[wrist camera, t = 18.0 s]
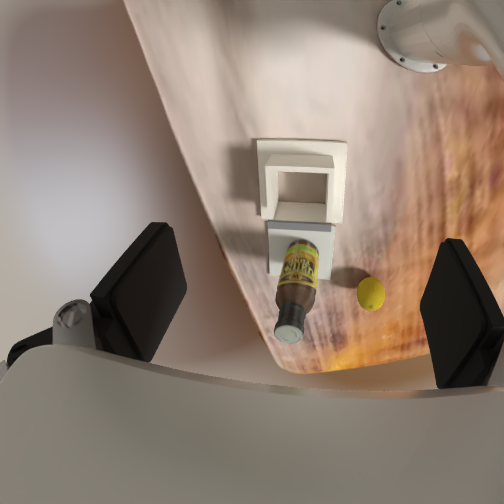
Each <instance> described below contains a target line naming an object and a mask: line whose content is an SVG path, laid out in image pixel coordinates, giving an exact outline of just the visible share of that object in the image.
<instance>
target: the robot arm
mask: <svg viewBox="0 0 504 504" xmlns="http://www.w3.org/2000/svg"><path fill="white" fill-rule="evenodd" d="M397 3H399V5H397ZM381 27H383V28H384V30H382V29H381ZM377 32H378V37H379V39H380V42H381V44H382V46H383V47H384V49H385V51H386V52H387V53H388V54H389V56H390V57H391V58H392V59H393V60H394V61H396V62H397V63H398V64H400V65H401V66H403V67H404V68H407V69H409V70H411V71H415V72H419V73H432V72H437V71H439V70H441V69H443V68H444V67H445V66H447V65H448V64H454V65H468V66H483V65H487V64H489V63H492V62H493V63H494V65H495V67H496V69H497V71H498V72H499V73H500V75H501V77H502V79H503V80H504V0H392V1H391V2H389V3H388V4H386V5H385V6H384V7H383V9H382V10H381V12H380V14H379V16H378V20H377ZM400 58H401V59H402V61H400ZM433 65H434V66H435V68H433ZM186 291H187V283H186V280H185V276H184V272H183V268H182V264H181V260H180V256H179V252H178V248H177V244H176V240H175V235H174V231H173V228H172V227H169V225H168V224H167V223H166V222H165V223H164V222H151V223H150V224H149V225H148V226H147V227H146V228H145V230H144V231H143V232H142V233H141V234H140V235H139V236H138V237H137V239H136V240H135V241H134V242H133V243H132V244H131V245H130V246H129V248H128V249H127V250H126V251H125V252H124V253H123V255H122V256H121V257H120V258H119V259H118V260H117V262H116V263H115V264H114V265H113V266H112V268H111V269H110V270H109V271H108V273H107V274H106V275H105V276H104V277H103V279H102V280H101V281H100V282H99V284H98V285H97V286H96V288H95V289H94V290H93V291H92V293H91V294H90V297H91V299H92V301H91V303H90V304H89V303H88V302H87V301H85V300H82V299H79V300H73V301H70V302H68V303H66V304H64V305H63V306H62V307H61V308H60V309H59V310H58V311H57V312H56V314H55V316H54V319H53V327H51V328H48V329H46V330H44V331H41V332H39V333H37V334H34V335H33V336H30V337H28V338H25V339H23V340H21V341H19V342H17V343H16V344H14V346H13V347H12V348H11V350H10V352H9V354H8V358H7V362H6V361H5V360H3V361H2V362H1V363H0V504H504V317H503V314H502V312H501V310H500V308H499V306H498V304H497V302H496V300H495V297H494V295H493V293H492V291H491V289H490V288H489V286H488V284H487V282H486V280H485V278H484V276H483V274H482V272H481V271H480V269H479V267H478V265H477V264H476V262H475V260H474V258H473V257H472V255H471V253H470V252H469V250H468V248H467V247H466V245H465V243H464V242H463V240H461V239H452V238H447V239H446V240H445V242H442V243H441V244H440V246H439V250H438V253H437V256H436V259H435V262H434V265H433V268H432V271H431V274H430V277H429V280H428V283H427V286H426V288H425V291H424V294H423V296H422V299H421V302H420V311H421V315H422V319H423V323H424V327H425V331H426V335H427V340H428V344H429V348H430V353H431V357H432V363H433V368H434V373H435V379H436V385H437V387H438V388H439V389H434V390H412V391H347V390H325V389H310V388H297V387H287V386H278V385H269V384H261V383H253V382H246V381H239V380H232V379H226V378H220V377H213V376H208V375H203V374H198V373H192V372H187V371H182V370H178V369H173V368H169V367H164V366H160V365H156V364H151V363H149V362H150V361H151V360H152V358H153V356H154V354H155V352H156V350H157V348H158V346H159V344H160V342H161V340H162V338H163V336H164V334H165V333H166V331H167V329H168V327H169V325H170V322H171V321H172V319H173V317H174V315H175V313H176V311H177V309H178V307H179V305H180V303H181V301H182V300H183V298H184V296H185V294H186Z"/></svg>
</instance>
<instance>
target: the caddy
mask: <svg viewBox="0 0 504 504" xmlns="http://www.w3.org/2000/svg"><path fill="white" fill-rule="evenodd" d="M257 154H258V170H259V186H260V203H261V219H268V221H267V228H268V229H284V230H303V231H320V232H331V226H332V224H331V222H333V223H342V216H343V204H344V192H345V177H346V160H347V142H340V141H322V140H292V139H258V140H257ZM278 172H309V173H327V182H326V203H325V204H322V203H302V202H279V192H278Z"/></svg>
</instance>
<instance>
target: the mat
mask: <svg viewBox="0 0 504 504" xmlns="http://www.w3.org/2000/svg"><path fill="white" fill-rule="evenodd" d="M335 227H336V226H335V225H332V226H331V232H320V231H303V230H284V229H268V242H269V266H270V276H280V274H281V270H282V266H283V262H284V258H285V254H286V252H287V249H288V247H289V245H290V244H291V243H292V242H295V241H298V240H306V241H309V242H311V243H313V244H314V245H315V246H316V247H317V248H318V251H319V266H318V277H317V279H328V280H330V275H331V266H332V258H333V248H334V238H335Z"/></svg>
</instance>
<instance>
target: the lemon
mask: <svg viewBox="0 0 504 504" xmlns="http://www.w3.org/2000/svg"><path fill="white" fill-rule="evenodd" d="M384 298H385V290H384V286H383V284H382V283H381V282H380V281H379V280H378V279H377V278H374V277H367V278H365V279H363V280H362V281H361V282H360V283H359V285H358V287H357V299H358V302H359V304H360V305H361V307H362V308H364V309H365V310H368V311H374V310H377V309H378V308H380V307H381V306H382V304H383V302H384Z"/></svg>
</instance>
